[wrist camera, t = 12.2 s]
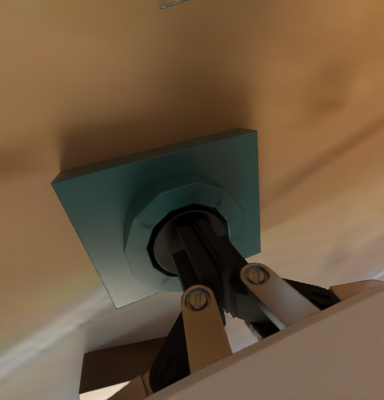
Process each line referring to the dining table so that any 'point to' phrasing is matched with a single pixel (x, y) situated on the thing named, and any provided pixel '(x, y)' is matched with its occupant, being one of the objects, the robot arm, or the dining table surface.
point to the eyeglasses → (173, 3)
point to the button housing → (160, 205)
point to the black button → (168, 236)
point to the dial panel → (116, 368)
